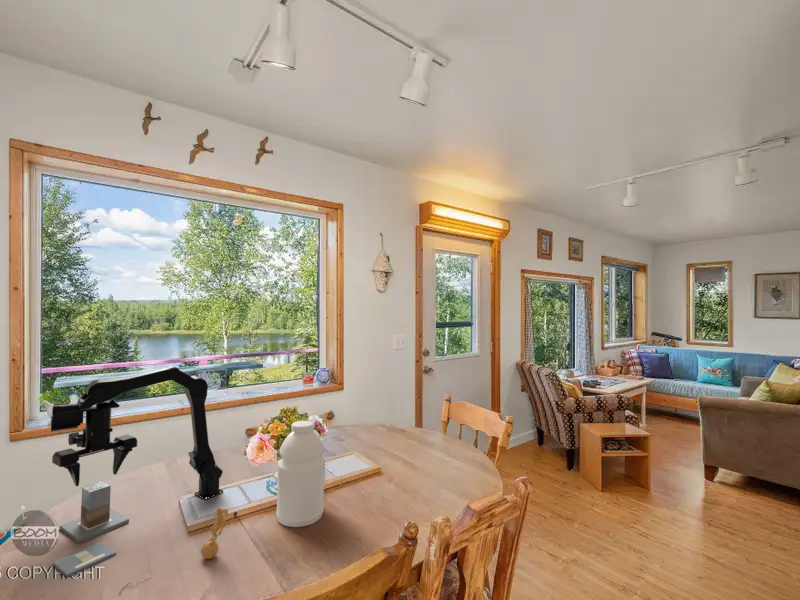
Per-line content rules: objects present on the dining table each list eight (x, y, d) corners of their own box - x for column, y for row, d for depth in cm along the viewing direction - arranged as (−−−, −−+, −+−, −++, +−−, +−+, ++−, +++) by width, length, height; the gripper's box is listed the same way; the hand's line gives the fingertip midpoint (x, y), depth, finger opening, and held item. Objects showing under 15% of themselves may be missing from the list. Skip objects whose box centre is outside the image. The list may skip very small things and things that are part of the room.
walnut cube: (109, 520, 114) (109, 502, 114) (88, 528, 109) (89, 510, 110) (101, 515, 116) (101, 498, 116) (80, 523, 112) (81, 505, 112)
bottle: (274, 508, 125) (276, 419, 125) (318, 500, 130) (320, 415, 131) (279, 532, 112) (282, 432, 112) (327, 522, 117) (330, 427, 118)
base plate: (128, 522, 115) (128, 518, 115) (78, 543, 105) (78, 539, 105) (108, 510, 121) (109, 506, 121) (59, 529, 111) (59, 525, 111)
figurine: (198, 551, 102) (199, 504, 103) (223, 544, 106) (224, 498, 106) (203, 569, 96) (205, 519, 96) (230, 560, 99) (231, 512, 99)
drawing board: (115, 554, 100) (115, 551, 100) (67, 577, 92) (67, 574, 92) (100, 543, 105) (100, 541, 105) (52, 564, 96) (53, 561, 96)
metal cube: (110, 502, 114) (110, 485, 114) (89, 510, 109) (89, 492, 110) (102, 498, 116) (102, 481, 116) (81, 505, 112) (82, 487, 112)
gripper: (120, 412, 125) (119, 462, 125) (45, 427, 109) (43, 484, 109) (139, 418, 120) (137, 471, 119) (62, 435, 104) (59, 495, 103)
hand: (96, 479), depth 113 cm, fingers open, 9 cm apart
